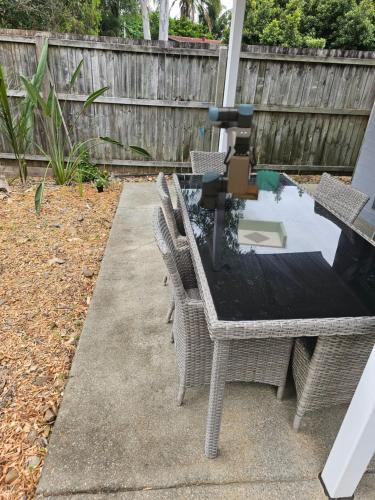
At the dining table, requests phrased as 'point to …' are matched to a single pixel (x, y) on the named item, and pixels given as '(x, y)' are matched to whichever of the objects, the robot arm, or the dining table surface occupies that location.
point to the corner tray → (261, 233)
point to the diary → (248, 193)
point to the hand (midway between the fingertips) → (238, 177)
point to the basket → (267, 180)
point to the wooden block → (238, 174)
